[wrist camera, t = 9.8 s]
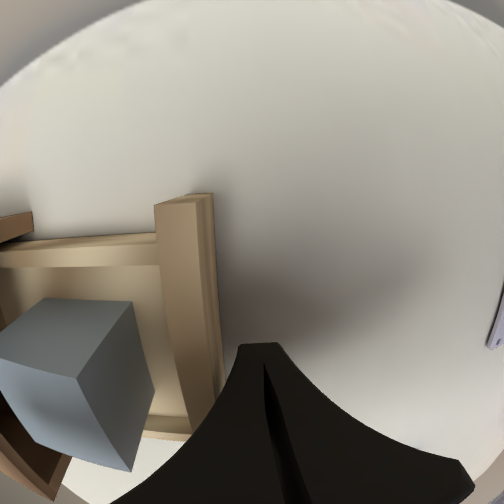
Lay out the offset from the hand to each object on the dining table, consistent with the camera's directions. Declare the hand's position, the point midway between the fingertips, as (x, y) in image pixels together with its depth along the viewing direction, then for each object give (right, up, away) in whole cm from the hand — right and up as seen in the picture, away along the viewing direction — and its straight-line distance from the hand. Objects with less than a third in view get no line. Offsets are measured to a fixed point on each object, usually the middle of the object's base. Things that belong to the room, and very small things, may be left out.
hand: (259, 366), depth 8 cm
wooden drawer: (-7, 0, +1) cm, 7 cm away
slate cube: (-6, 0, 0) cm, 6 cm away
